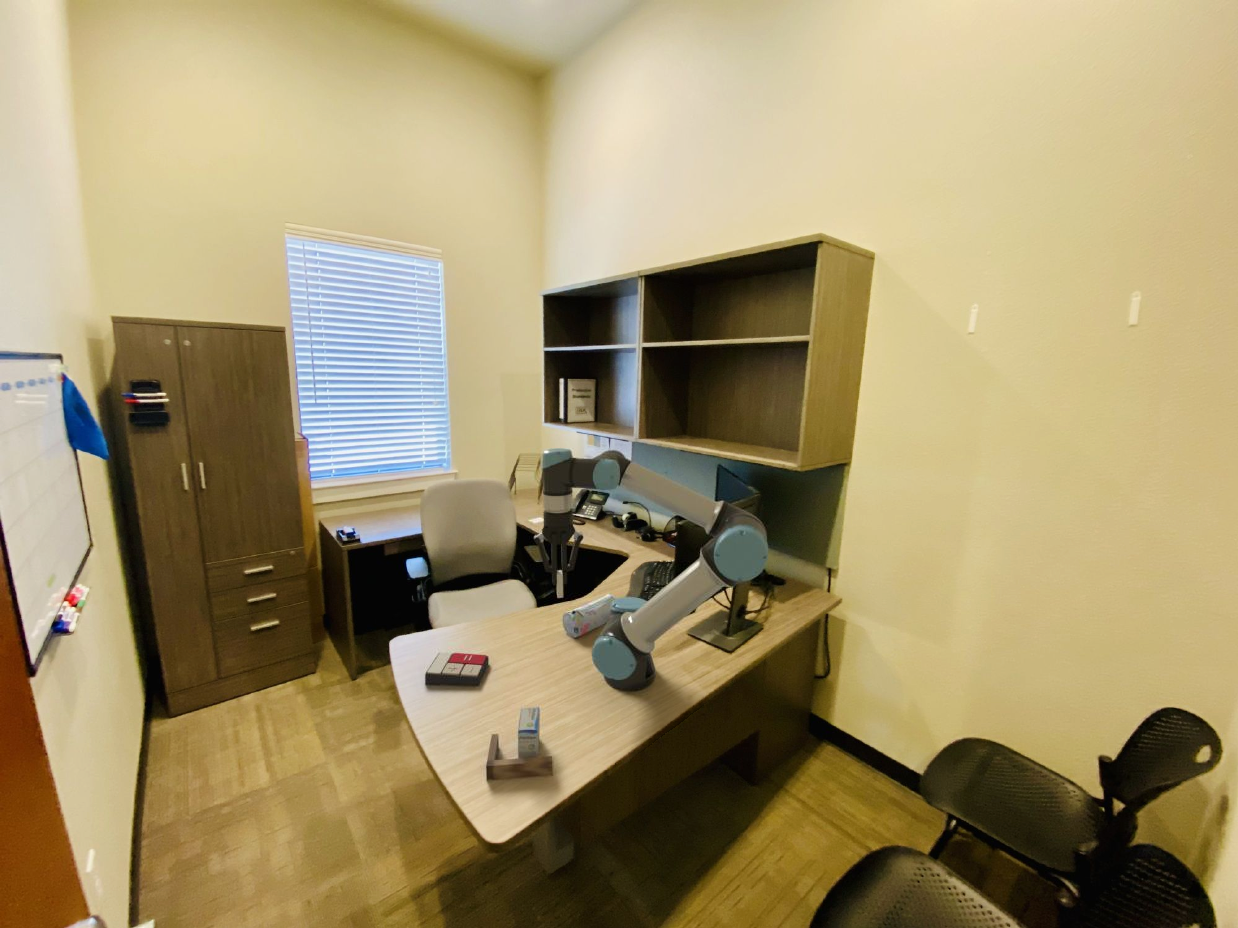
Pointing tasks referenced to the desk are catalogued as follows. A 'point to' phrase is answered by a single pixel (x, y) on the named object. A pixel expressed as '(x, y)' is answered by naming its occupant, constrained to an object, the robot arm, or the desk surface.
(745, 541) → the robot arm
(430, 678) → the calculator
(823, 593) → the desk surface
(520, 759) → the corner fence
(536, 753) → the medicine box
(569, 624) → the pencil case
